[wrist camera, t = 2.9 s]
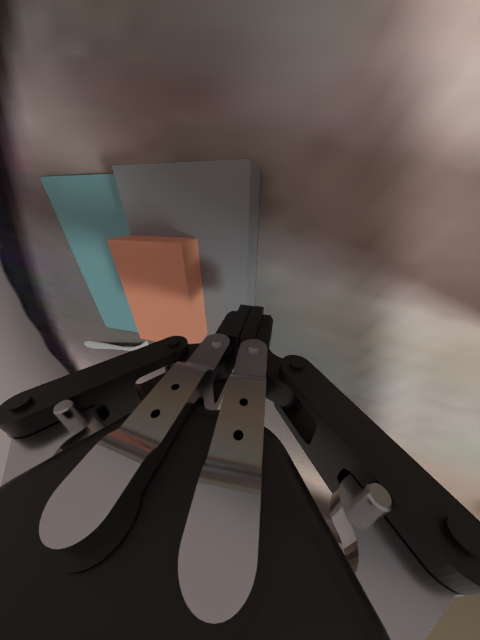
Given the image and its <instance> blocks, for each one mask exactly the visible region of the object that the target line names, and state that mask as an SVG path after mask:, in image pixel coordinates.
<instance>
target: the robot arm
mask: <svg viewBox="0 0 480 640" xmlns="http://www.w3.org/2000/svg"><path fill="white" fill-rule="evenodd" d="M263 311H264V307H259V306H250V305H242V304H241V305H240V307H239V308H238V310H237V311H231V312H229V313H228V314H226V316H225V318H224V319H223V321H222V323H221V324H220V326H219V328H218V329H217V331H216V333H215V334H211V335H209V336H207V337H206V338H205V339H204V340H203V341H202V343H196V344H188V341H187V339H186V338H185V337H183V336H171V337H168V338H165V339H163V340H160V341H157V342H155V343H152V344H149V345H147V346H144V347H141V348H139V349H136V350H133V351H131V352H128V353H125V354H123V355H120V356H117V357H115V358H112V359H109V360H106V361H104V362H101V363H98V364H96V365H93V366H90V367H88V368H85V369H82V370H80V371H77V372H74V373H72V374H69V375H66V376H64V377H61V378H58V379H56V380H53V381H51V382H48V383H45V384H42V385H40V386H37V387H35V388H32V389H29V390H27V391H24V392H21V393H19V394H17V395H15V396H13V397H12V398H10V399H8V400H7V401H5V402H4V403H3V404H2V405H0V428H1V429H2V430H3V431H4V432H6V433H7V435H8V437H9V438H11V445H10V449H9V454H8V458H7V463H6V467H5V472H4V476H3V480H2V485H1V487H0V640H425V639H426V637H427V636H428V634H429V633H430V631H431V630H432V628H433V627H434V625H435V624H436V622H437V621H438V619H439V618H440V616H441V615H442V614H443V612H444V611H445V609H446V608H447V606H448V604H449V603H450V602H451V600H452V599H453V597H459V596H467V595H477V594H480V521H479V520H478V519H477V518H476V517H475V516H474V515H472V514H471V513H470V512H469V511H468V510H467V509H466V508H465V507H464V506H463V505H462V504H461V503H460V502H459V501H458V500H456V499H455V498H454V497H453V496H452V495H451V494H450V493H449V492H448V491H447V490H446V489H445V488H444V487H443V486H442V485H440V484H439V483H438V482H437V481H436V480H435V479H434V478H433V477H432V476H431V475H430V474H429V473H428V472H427V471H425V470H424V469H423V468H422V467H421V466H420V465H419V464H418V463H417V462H416V461H415V460H414V459H413V458H412V457H411V456H409V455H408V454H407V453H406V452H405V451H404V450H403V449H402V448H401V447H400V446H399V445H398V444H397V443H396V442H395V441H393V440H392V439H391V438H390V437H389V436H388V435H387V434H386V433H385V432H384V431H383V430H382V429H381V428H380V427H378V426H377V425H376V424H375V423H374V422H373V421H372V420H371V419H370V418H369V417H368V416H367V415H366V414H365V413H364V412H362V411H361V410H360V409H359V408H358V407H357V406H356V405H355V404H354V403H353V402H352V401H351V400H350V399H349V398H348V397H346V396H345V395H344V394H343V393H342V392H341V391H340V390H339V389H338V388H337V387H336V386H335V385H334V384H333V383H331V382H330V381H329V380H328V379H327V378H326V377H325V376H324V375H323V374H322V373H321V372H320V371H319V370H318V369H317V368H315V367H314V366H313V365H312V364H311V363H310V362H309V361H308V360H307V359H305V358H303V357H301V356H297V355H288V356H286V357H284V358H283V359H282V358H280V357H278V356H276V355H274V354H273V353H272V352H271V351H270V349H269V347H270V340H271V333H272V325H273V319H272V317H271V315H263ZM164 366H165V370H166V372H165V373H163V374H161V375H159V376H157V377H155V378H153V379H150V380H148V381H146V382H144V383H142V384H136V383H135V382H136V381H137V380H138V379H139V378H140V377H142V376H144V375H147V374H149V373H151V372H153V371H155V370H158V369H160V368H162V367H164ZM233 369H234V371H233V373H232V370H233ZM223 395H224V397H223ZM222 397H223V401H222V404H221V408H220V410H217V409H218V406H219V404H220V402H221V400H222ZM265 398H267V399H269V400H271V401H273V402H274V405H275V408H276V409H277V411H278V412H279V414H280V415H281V417H282V418H283V420H284V421H285V423H286V424H287V426H288V427H289V429H290V430H291V432H292V433H293V435H294V436H295V438H296V439H297V441H298V442H299V444H300V446H301V447H302V449H303V450H304V452H305V453H306V455H307V456H308V458H309V459H310V461H311V462H312V464H313V465H314V467H315V468H316V470H317V471H318V473H319V474H320V476H321V477H322V479H323V480H324V482H325V483H326V485H327V486H328V488H329V489H330V491H331V492H332V496H331V499H330V513H331V517H332V520H333V523H334V525H335V527H336V529H337V531H338V533H339V535H340V538H341V541H342V544H343V548H344V553H343V551H342V550H341V548H340V546H339V544H338V542H337V541H336V539H335V537H334V535H333V533H332V532H331V530H330V528H329V526H328V524H327V523H326V521H325V519H324V517H323V515H322V514H321V512H320V510H319V508H318V506H317V505H316V503H315V501H314V499H313V497H312V496H311V494H310V492H309V490H308V488H307V487H306V485H305V483H304V481H303V479H302V478H301V476H300V474H299V472H298V470H297V469H296V467H295V465H294V463H293V461H292V460H291V458H290V456H289V454H288V452H287V450H286V449H285V447H284V446H283V444H282V443H281V441H280V440H279V439H278V438H277V437H276V436H275V435H274V434H273V433H272V432H271V431H270V430H269V429H267V428H266V427H264V416H265ZM344 554H345V555H344Z"/></svg>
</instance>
